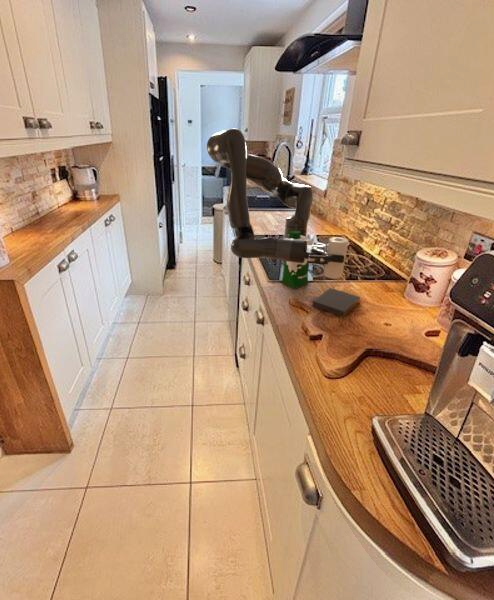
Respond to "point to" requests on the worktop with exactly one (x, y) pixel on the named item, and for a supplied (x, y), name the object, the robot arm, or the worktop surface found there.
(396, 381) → the worktop surface
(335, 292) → the slate board
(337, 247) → the paper roll
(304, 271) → the soya milk
